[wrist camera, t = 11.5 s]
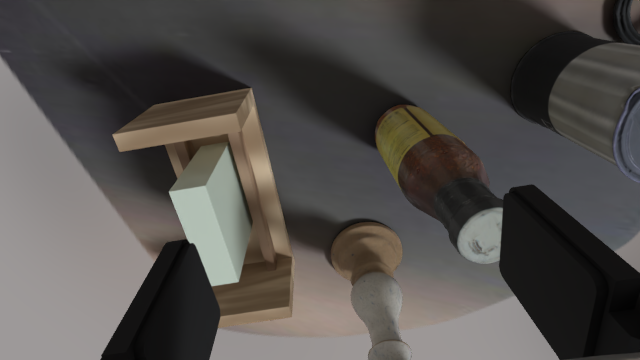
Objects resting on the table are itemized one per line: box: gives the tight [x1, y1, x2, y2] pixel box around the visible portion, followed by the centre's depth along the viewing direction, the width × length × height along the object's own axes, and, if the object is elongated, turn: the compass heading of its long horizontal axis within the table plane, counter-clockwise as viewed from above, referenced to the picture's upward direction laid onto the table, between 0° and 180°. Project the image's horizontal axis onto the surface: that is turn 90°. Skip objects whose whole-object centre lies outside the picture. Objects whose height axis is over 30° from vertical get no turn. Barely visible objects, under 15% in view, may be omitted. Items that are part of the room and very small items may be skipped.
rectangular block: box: [169, 142, 253, 286], centre depth 36 cm, size 10×4×10 cm, turn 10°
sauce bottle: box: [375, 105, 503, 264], centre depth 31 cm, size 6×6×20 cm
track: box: [112, 88, 295, 328], centre depth 38 cm, size 22×10×9 cm, turn 9°
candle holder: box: [331, 222, 412, 360], centre depth 37 cm, size 9×9×20 cm
